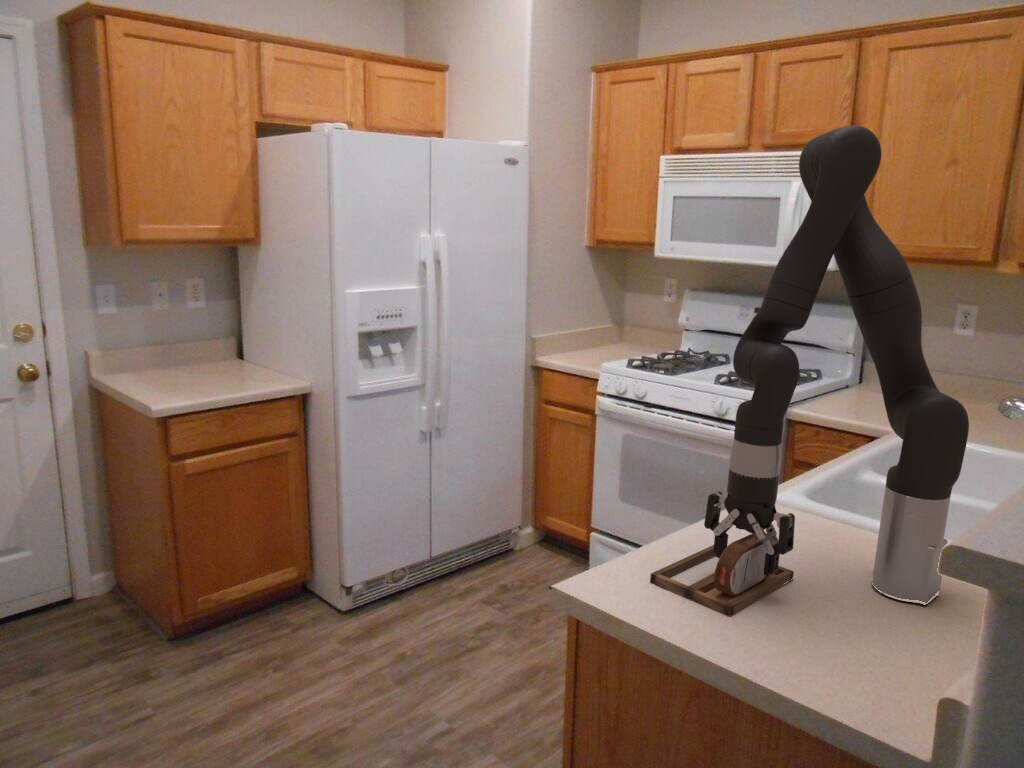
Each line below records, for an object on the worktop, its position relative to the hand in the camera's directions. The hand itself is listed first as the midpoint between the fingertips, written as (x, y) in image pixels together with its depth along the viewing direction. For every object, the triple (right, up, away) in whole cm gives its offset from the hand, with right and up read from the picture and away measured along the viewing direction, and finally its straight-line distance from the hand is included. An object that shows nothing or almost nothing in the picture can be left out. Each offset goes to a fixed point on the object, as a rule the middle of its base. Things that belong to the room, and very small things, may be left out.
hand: (744, 565), depth 126 cm
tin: (0, -4, +1) cm, 4 cm away
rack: (-3, -3, +3) cm, 5 cm away
